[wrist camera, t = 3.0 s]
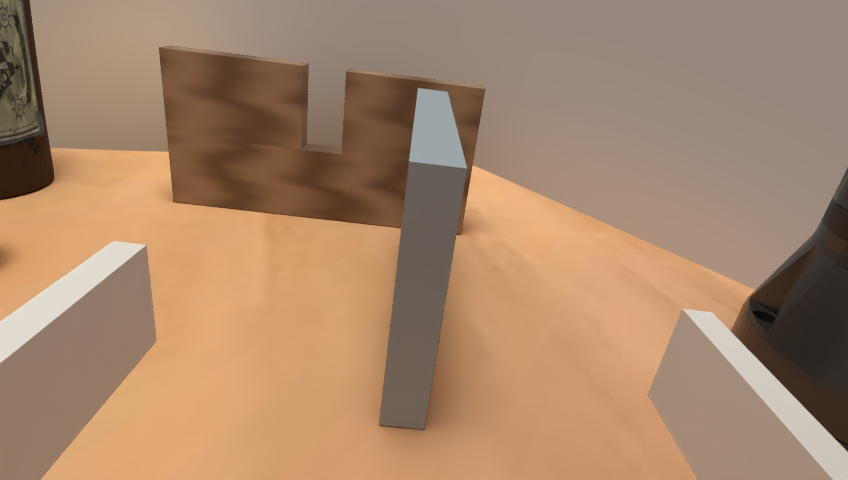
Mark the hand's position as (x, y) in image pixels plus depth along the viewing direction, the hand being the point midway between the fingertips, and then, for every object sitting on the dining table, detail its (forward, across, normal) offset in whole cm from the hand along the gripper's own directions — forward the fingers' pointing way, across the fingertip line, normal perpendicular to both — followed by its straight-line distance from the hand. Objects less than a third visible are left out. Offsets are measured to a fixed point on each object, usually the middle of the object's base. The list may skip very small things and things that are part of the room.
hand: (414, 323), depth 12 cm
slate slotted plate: (+15, +1, -9) cm, 18 cm away
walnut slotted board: (+29, -8, -9) cm, 31 cm away
